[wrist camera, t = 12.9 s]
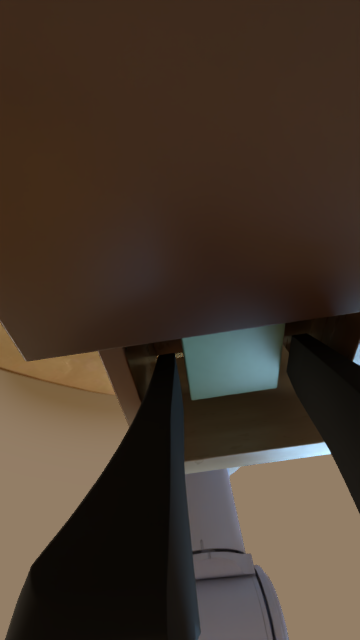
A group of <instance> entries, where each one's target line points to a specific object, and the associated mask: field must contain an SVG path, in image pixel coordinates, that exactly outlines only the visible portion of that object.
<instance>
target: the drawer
mask: <svg viewBox="0 0 360 640" xmlns="http://www.w3.org/2000/svg"><path fill="white" fill-rule="evenodd" d="M305 333H307V334H309V335H311V336H312V337H314V338H316V339H317V340H319V341H321V342H322V343H324V344H325V345H327V346H329V347H330V348H332V349H333V350H335V351H337V352H338V353H340V354H341V355H343V356H345V357H346V358H348V359H350V360H351V361H353V362H355V363H356V364H358V365H360V312H357V313H351V314H344V315H337V316H330V317H324V318H317V319H310V320H303V321H297V322H290V323H285V330H284V338H283V346H282V354H281V361H280V369H279V377H278V385H277V388H274V389H267V390H260V391H253V392H246V393H239V394H232V395H226V396H219V397H212V398H205V399H198V400H191V398H190V392H189V386H188V380H187V373H186V367H185V361H184V357H180V358H176V363H177V368H178V373H179V379H180V384H181V391H182V399H183V408H184V466H185V474H190V473H197V472H205V471H212V470H219V469H226V468H233V467H240V466H247V465H254V464H261V463H269V462H276V461H283V460H289V459H297V458H304V457H311V456H319V455H326V454H331V452H330V451H329V449H328V447H327V445H326V444H325V442H324V440H323V439H322V437H321V435H320V434H319V432H318V430H317V429H316V427H315V425H314V424H313V422H312V420H311V419H310V417H309V415H308V414H307V412H306V410H305V409H304V407H303V405H302V403H301V402H300V400H299V398H298V397H297V395H296V393H295V391H294V389H293V386H292V384H291V382H290V379H289V377H288V375H287V372H286V370H287V363H288V357H289V350H290V343H291V337H292V335H299V334H305ZM180 352H183V349H182V343H181V339H175V340H168V341H162V342H155V343H148V344H141V345H135V346H128V347H121V348H114V349H108V350H101V351H98V353H99V356H100V358H101V360H102V363H103V365H104V368H105V370H106V372H107V375H108V377H109V380H110V382H111V384H112V387H113V389H114V392H115V394H116V396H117V399H118V401H119V404H120V406H121V408H122V411H123V413H124V415H125V418H126V420H127V423H128V425H129V427H130V426H131V424H132V422H133V420H134V418H135V416H136V413H137V411H138V409H139V407H140V405H141V403H142V401H143V398H144V396H145V394H146V391H147V389H148V386H149V384H150V381H151V378H152V375H153V372H154V369H155V366H156V362H157V356H159V355H163V354H170V353H180Z"/></svg>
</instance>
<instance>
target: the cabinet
mask: <svg viewBox="0 0 360 640" xmlns="http://www.w3.org/2000/svg"><path fill="white" fill-rule="evenodd" d="M357 312H360V0H0V323H1V324H2V326H3V327H4V329H5V330H6V332H7V333H8V335H9V336H10V338H11V340H12V341H13V343H14V344H15V346H16V347H17V349H18V350H19V352H20V353H21V355H22V356H23V358H24V360H25V361H33V360H40V359H47V358H53V357H60V356H67V355H74V354H81V353H87V352H94V351H101V350H108V349H114V348H121V347H128V346H135V345H141V344H148V343H155V342H162V341H168V340H175V339H182V338H189V337H195V336H202V335H209V334H216V333H222V332H229V331H236V330H243V329H249V328H256V327H263V326H270V325H276V324H283V323H290V322H297V321H303V320H310V319H317V318H324V317H330V316H337V315H344V314H351V313H357Z"/></svg>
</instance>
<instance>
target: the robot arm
mask: <svg viewBox="0 0 360 640" xmlns="http://www.w3.org/2000/svg"><path fill="white" fill-rule="evenodd" d="M286 372H287V375H288V377H289V379H290V382H291V384H292V386H293V389H294V391H295V393H296V395H297V397H298V398H299V400H300V402H301V403H302V405H303V407H304V409H305V410H306V412H307V414H308V415H309V417H310V419H311V420H312V422H313V424H314V425H315V427H316V429H317V430H318V432H319V434H320V435H321V437H322V439H323V440H324V442H325V444H326V445H327V447H328V449H329V451H330V452H331V454H332V456H333V458H334V460H335V462H336V464H337V466H338V468H339V470H340V472H341V474H342V476H343V478H344V480H345V483H346V485H347V487H348V489H349V491H350V493H351V496H352V498H353V500H354V502H355V504H356V507H357V509H358V511H359V513H360V365H358V364H356V363H355V362H353V361H351V360H350V359H348V358H346V357H345V356H343V355H341V354H340V353H338V352H337V351H335V350H333V349H332V348H330V347H329V346H327V345H325V344H324V343H322V342H321V341H319V340H317V339H316V338H314V337H312V336H311V335H309V334H307V333H305V334H299V335H292V337H291V343H290V350H289V357H288V363H287V370H286ZM5 640H289V638H288V633H287V628H286V624H285V620H284V616H283V613H282V609H281V606H280V603H279V600H278V597H277V594H276V591H275V589H274V586H273V584H272V582H271V580H270V578H269V577H268V576H267V574H266V573H264V571H263V570H262V568H261V567H260V566H258V565H253V561H252V556H251V554H246V553H245V548H244V544H243V539H242V535H241V530H240V525H239V521H238V516H237V512H236V507H235V503H234V498H233V493H232V489H231V484H230V477H229V468H226V469H219V470H212V471H205V472H197V473H190V474H185V466H184V408H183V399H182V391H181V384H180V379H179V373H178V368H177V363H176V358H175V353H170V354H163V355H159V356H158V358H157V362H156V366H155V369H154V372H153V375H152V378H151V381H150V384H149V386H148V389H147V391H146V394H145V396H144V398H143V401H142V403H141V405H140V407H139V409H138V411H137V413H136V416H135V418H134V420H133V422H132V424H131V426H130V427H129V429H128V431H127V433H126V435H125V437H124V439H123V440H122V442H121V444H120V445H119V447H118V449H117V450H116V452H115V454H114V455H113V457H112V458H111V460H110V462H109V463H108V465H107V466H106V468H105V469H104V471H103V472H102V474H101V476H100V477H99V478H98V480H97V481H96V483H95V484H94V485H93V487H92V488H91V490H90V491H89V492H88V494H87V495H86V497H85V498H84V499H83V501H82V502H81V504H80V505H79V506H78V508H77V509H76V510H75V512H74V513H73V514H72V516H71V517H70V518H69V520H68V521H67V522H66V523H65V525H64V526H63V527H62V528H61V530H60V531H59V532H58V533H57V535H56V536H55V537H54V538H53V540H52V541H51V542H50V543H49V544H48V546H47V547H46V548H45V550H44V551H43V552H42V553H41V554H40V556H39V557H38V558H37V559H36V561H35V562H34V563H33V564H32V566H31V568H30V571H29V573H28V576H27V579H26V581H25V584H24V586H23V588H22V591H21V593H20V596H19V598H18V601H17V604H16V607H15V610H14V613H13V616H12V619H11V623H10V626H9V629H8V632H7V635H6V638H5Z"/></svg>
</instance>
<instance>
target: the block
mask: <svg viewBox="0 0 360 640" xmlns="http://www.w3.org/2000/svg"><path fill="white" fill-rule="evenodd" d="M284 330H285V323H283V324H276V325H270V326H263V327H256V328H249V329H243V330H236V331H229V332H222V333H216V334H209V335H202V336H195V337H189V338H182V339H181V343H182V349H183V355H184V361H185V367H186V373H187V380H188V386H189V392H190V398H191V400H198V399H205V398H212V397H219V396H226V395H232V394H239V393H246V392H253V391H260V390H267V389H274V388H277V385H278V377H279V369H280V361H281V354H282V346H283V338H284Z"/></svg>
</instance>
